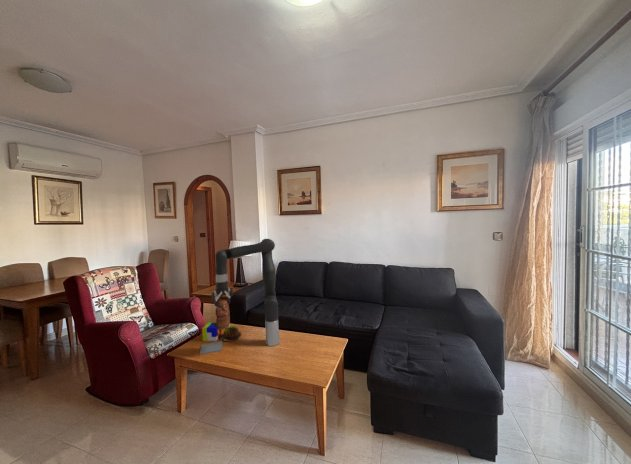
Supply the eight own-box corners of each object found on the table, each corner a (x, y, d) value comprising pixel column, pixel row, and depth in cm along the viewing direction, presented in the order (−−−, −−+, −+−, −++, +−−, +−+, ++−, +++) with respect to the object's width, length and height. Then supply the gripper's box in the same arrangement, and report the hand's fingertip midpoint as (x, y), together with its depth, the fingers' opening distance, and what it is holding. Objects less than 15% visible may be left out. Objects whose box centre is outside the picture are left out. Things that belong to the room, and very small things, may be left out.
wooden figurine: (225, 330, 164) (224, 303, 163) (215, 330, 164) (214, 303, 163) (231, 323, 176) (230, 297, 175) (222, 323, 176) (221, 297, 175)
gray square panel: (222, 342, 185) (222, 341, 184) (222, 350, 172) (222, 349, 172) (201, 346, 180) (201, 344, 180) (199, 355, 168) (199, 353, 168)
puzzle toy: (216, 341, 187) (215, 328, 187) (202, 341, 187) (202, 328, 187) (221, 335, 197) (220, 322, 197) (208, 335, 197) (208, 322, 197)
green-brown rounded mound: (218, 334, 199) (218, 322, 198) (239, 330, 205) (239, 318, 205) (219, 344, 183) (219, 330, 182) (242, 339, 189) (242, 326, 189)
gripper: (229, 278, 176) (230, 301, 176) (208, 281, 166) (209, 306, 166) (234, 279, 170) (235, 303, 171) (213, 283, 160) (214, 308, 161)
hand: (222, 304), depth 169 cm, fingers closed on wooden figurine, 7 cm apart
